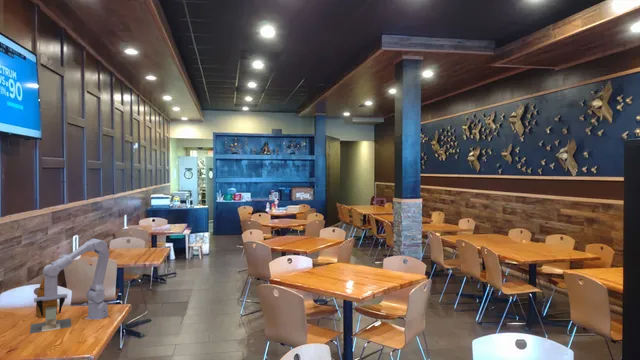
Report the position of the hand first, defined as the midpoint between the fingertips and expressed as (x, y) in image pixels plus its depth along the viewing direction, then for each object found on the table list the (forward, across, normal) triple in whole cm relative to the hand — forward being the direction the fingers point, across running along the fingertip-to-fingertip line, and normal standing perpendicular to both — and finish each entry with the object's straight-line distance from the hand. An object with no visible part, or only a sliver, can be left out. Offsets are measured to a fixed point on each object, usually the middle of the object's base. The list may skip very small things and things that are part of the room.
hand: (51, 313), depth 217 cm
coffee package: (+8, +2, -26) cm, 27 cm away
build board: (+8, 0, -4) cm, 9 cm away
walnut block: (+7, 0, 0) cm, 7 cm away
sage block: (+2, 0, 0) cm, 2 cm away
